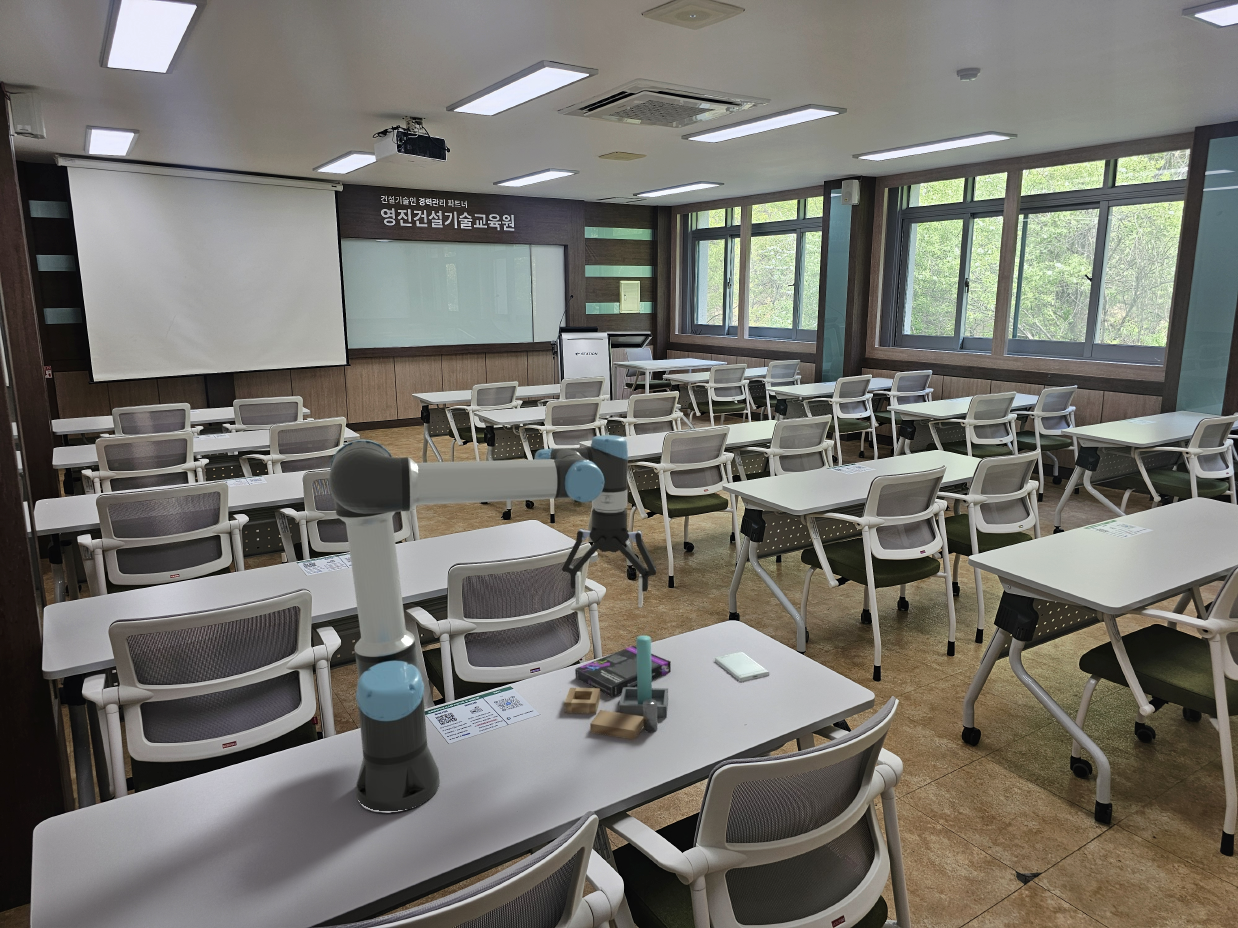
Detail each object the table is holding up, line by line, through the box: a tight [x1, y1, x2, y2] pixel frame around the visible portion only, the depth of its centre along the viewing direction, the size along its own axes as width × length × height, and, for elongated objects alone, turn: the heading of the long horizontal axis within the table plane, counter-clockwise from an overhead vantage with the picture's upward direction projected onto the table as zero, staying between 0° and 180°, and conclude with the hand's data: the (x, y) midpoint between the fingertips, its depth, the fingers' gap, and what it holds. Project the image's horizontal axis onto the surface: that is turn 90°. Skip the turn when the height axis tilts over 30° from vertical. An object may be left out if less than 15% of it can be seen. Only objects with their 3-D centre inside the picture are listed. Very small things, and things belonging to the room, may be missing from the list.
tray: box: [618, 687, 669, 718], centre depth 177 cm, size 10×8×3 cm
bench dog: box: [642, 699, 658, 733], centre depth 167 cm, size 3×3×6 cm
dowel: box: [635, 635, 653, 704], centre depth 175 cm, size 3×3×16 cm
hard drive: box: [714, 651, 770, 683], centre depth 195 cm, size 2×8×12 cm
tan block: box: [590, 709, 643, 741], centre depth 168 cm, size 10×6×2 cm, turn 71°
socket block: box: [564, 687, 601, 715], centre depth 178 cm, size 7×7×2 cm
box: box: [574, 645, 671, 698], centre depth 193 cm, size 14×4×20 cm
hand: (609, 603), depth 170 cm, fingers open, 13 cm apart
